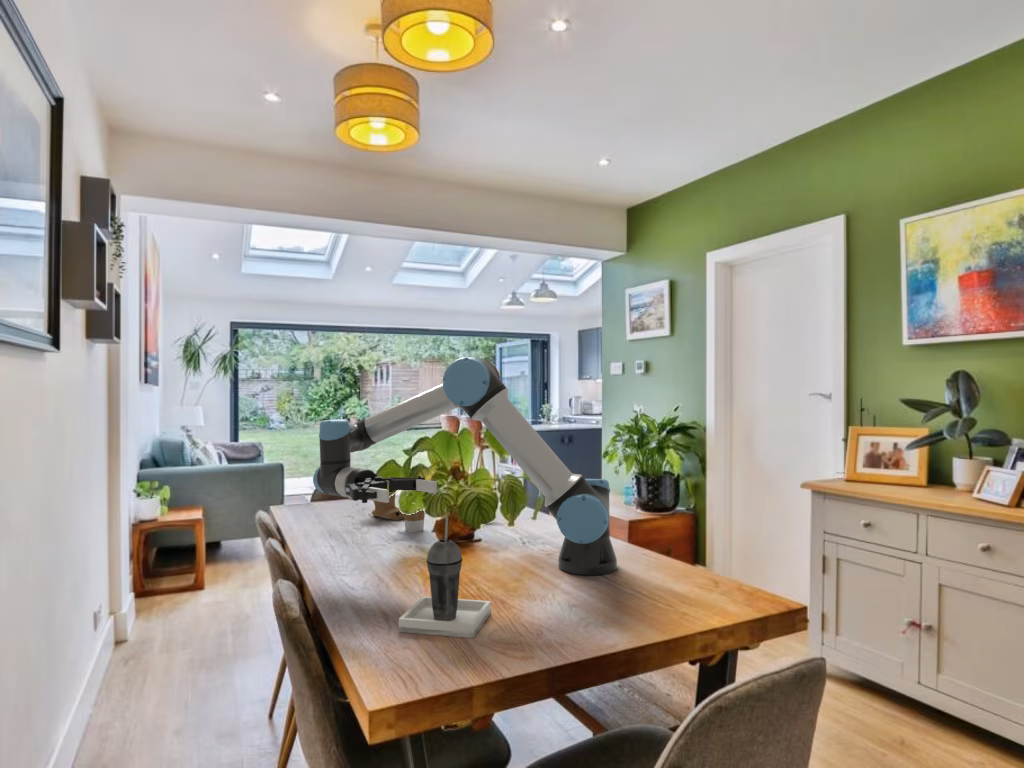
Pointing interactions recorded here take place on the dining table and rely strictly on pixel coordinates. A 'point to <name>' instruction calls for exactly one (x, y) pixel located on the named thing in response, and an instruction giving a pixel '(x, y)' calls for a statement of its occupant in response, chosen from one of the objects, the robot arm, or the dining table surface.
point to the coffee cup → (414, 522)
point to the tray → (463, 625)
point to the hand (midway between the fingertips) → (412, 491)
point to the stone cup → (387, 509)
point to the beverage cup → (444, 577)
